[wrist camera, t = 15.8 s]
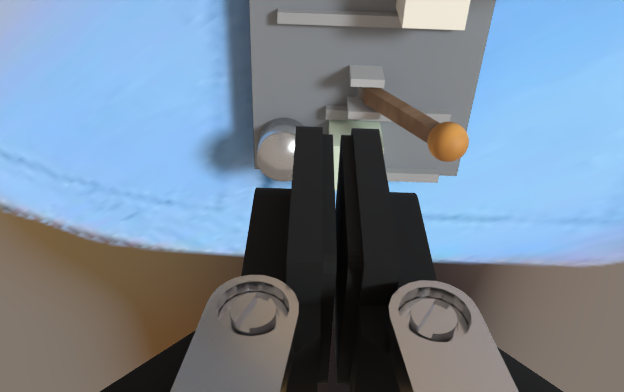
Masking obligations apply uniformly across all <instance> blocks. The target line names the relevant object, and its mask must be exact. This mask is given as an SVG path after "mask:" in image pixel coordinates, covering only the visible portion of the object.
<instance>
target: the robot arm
mask: <svg viewBox="0 0 624 392" xmlns="http://www.w3.org/2000/svg"><path fill="white" fill-rule="evenodd" d="M334 305H335V306H334ZM333 308H335V349H336V383H337V384H347V390H348V392H563V391H561V390H560V389H558V388H557V387H555V386H554V385H552V384H551V383H549V382H548V381H547V380H545V379H543V378H542V377H541V376H539V375H538V374H536V373H534V372H533V371H532V370H530V369H529V368H527V367H526V366H524V365H523V364H521V363H520V362H518V361H517V360H515V359H514V358H512V357H511V356H510V355H508V354H507V353H505V352H504V351H502V350H501V349H499V348H498V347H497V346H496V344H495V342H494V340H493V338H492V336H491V334H490V332H489V330H488V328H487V325H486V323H485V321H484V319H483V317H482V315H481V313H480V311H479V309H478V308H477V306H476V305H475V304H474V302H473V301H472V299H470V298H469V297H468V296H467V295H466V294H465V293H463V292H462V291H461V290H459V289H457V288H455V287H453V286H451V285H449V284H445V283H442V282H438V281H436V276H435V272H434V267H433V263H432V258H431V254H430V250H429V245H428V241H427V236H426V232H425V227H424V223H423V219H422V214H421V210H420V205H419V201H418V197H417V195H416V194H415V193H398V192H389V187H388V180H387V174H386V168H385V162H384V156H383V149H382V143H381V137H380V131H379V129H364V128H352V130H351V135H341V141H340V154H339V168H338V182H337V196H336V209H335V183H334V151H333V134H323V127H307V126H296V134H295V148H294V162H293V175H292V189H281V188H256V189H255V193H254V200H253V206H252V212H251V219H250V225H249V231H248V237H247V244H246V250H245V256H244V263H243V269H242V275H241V277H236V278H234V279H232V280H230V281H227V282H225V283H224V284H222V285H221V286H220V287H219V288H218V289H217V290H215V291H214V293H213V294H212V296H211V297H210V299H209V300H208V303H207V305H206V307H205V310H204V312H203V315H202V317H201V319H200V322H199V324H198V327H197V329H196V331H194V332H192V333H191V334H189V335H188V336H186V337H185V338H183V339H182V340H180V341H178V342H177V343H175V344H174V345H172V346H171V347H169V348H167V349H166V350H164V351H163V352H161V353H160V354H158V355H156V356H155V357H153V358H152V359H150V360H149V361H147V362H145V363H144V364H142V365H141V366H139V367H138V368H136V369H135V370H133V371H132V372H130V373H128V374H127V375H125V376H124V377H122V378H121V379H119V380H117V381H116V382H114V383H113V384H111V385H110V386H108V387H107V388H105V389H103V390H102V391H100V392H317V383H319V384H327V382H328V370H329V357H330V346H331V333H332V321H333Z"/></svg>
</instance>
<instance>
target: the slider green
mask: <svg viewBox="0 0 624 392" xmlns="http://www.w3.org/2000/svg"><path fill="white" fill-rule="evenodd" d="M352 128H364V129H379V131H380V137H381V143H382V149H383V154H384V143H383V137H382V131H381V125H380V121H358V120H330V119H329V130H328V134H333V151H334V183H335V190H337V182H338V168H339V154H340V141H341V135H351V130H352Z"/></svg>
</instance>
